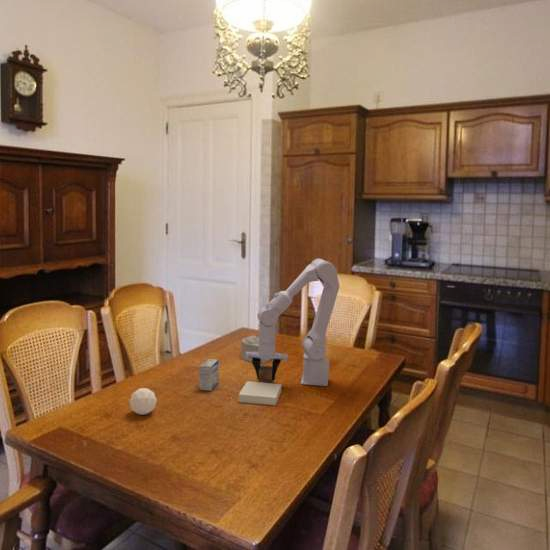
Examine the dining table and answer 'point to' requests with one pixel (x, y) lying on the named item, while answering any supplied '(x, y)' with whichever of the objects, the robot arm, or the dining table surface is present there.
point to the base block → (260, 393)
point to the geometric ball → (143, 401)
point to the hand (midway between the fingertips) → (266, 379)
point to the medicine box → (209, 374)
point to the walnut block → (265, 374)
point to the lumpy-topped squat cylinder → (251, 347)
